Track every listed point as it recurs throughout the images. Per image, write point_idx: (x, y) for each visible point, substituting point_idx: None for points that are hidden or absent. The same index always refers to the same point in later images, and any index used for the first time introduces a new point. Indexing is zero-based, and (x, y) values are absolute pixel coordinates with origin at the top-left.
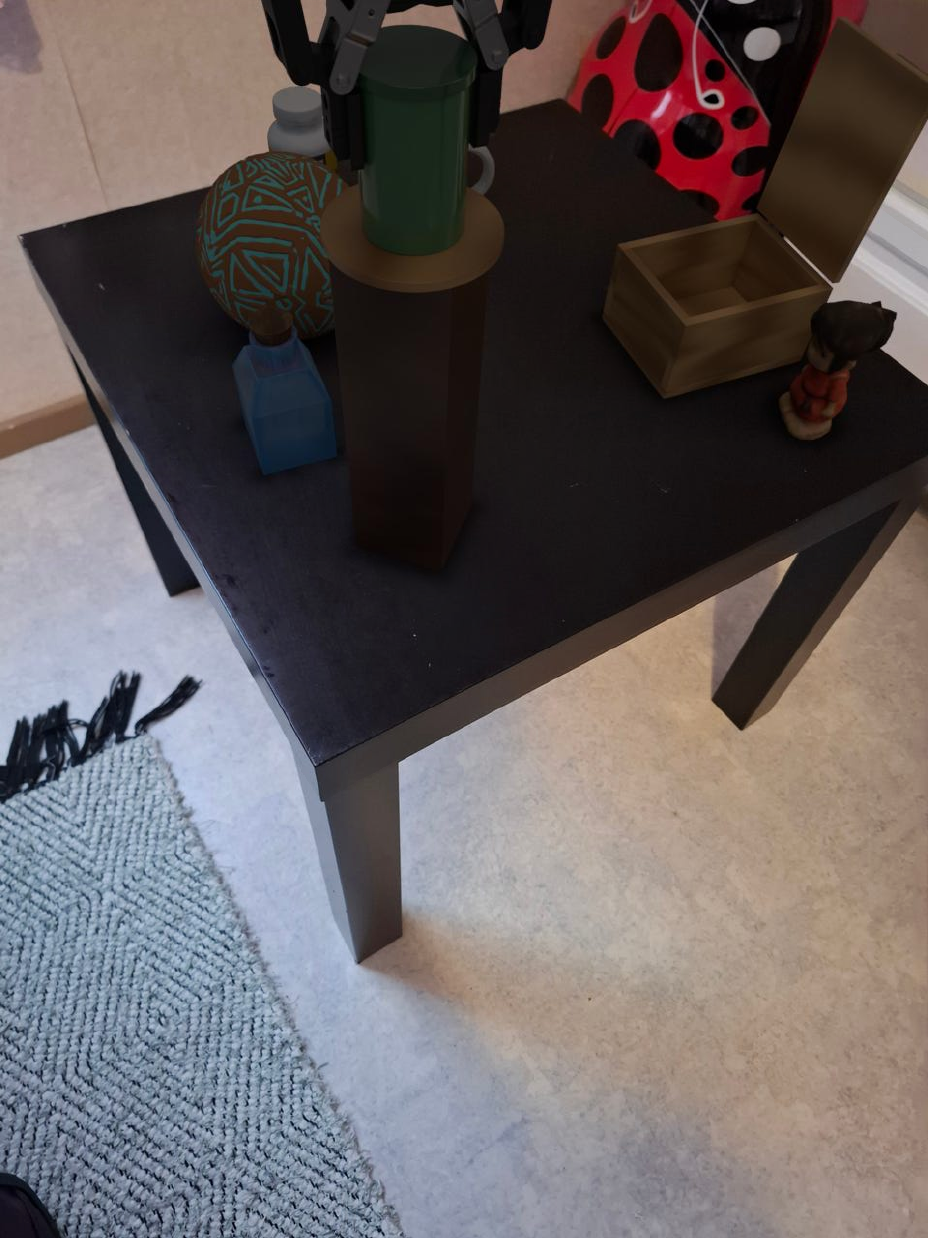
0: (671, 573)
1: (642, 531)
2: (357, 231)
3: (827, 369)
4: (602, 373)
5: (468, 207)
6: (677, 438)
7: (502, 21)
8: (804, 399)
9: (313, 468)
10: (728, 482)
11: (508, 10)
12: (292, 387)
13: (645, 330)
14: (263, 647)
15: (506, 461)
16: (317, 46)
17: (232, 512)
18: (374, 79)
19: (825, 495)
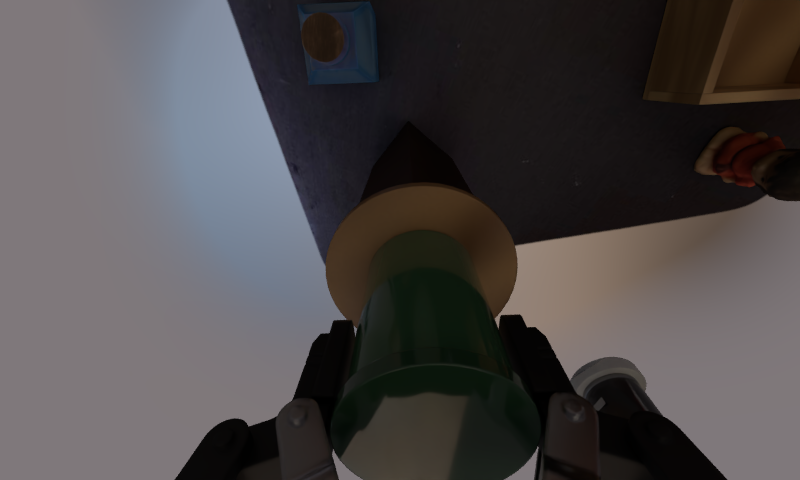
0: (538, 239)
1: (542, 208)
2: (363, 273)
3: (754, 181)
4: (620, 50)
5: (489, 265)
6: (619, 142)
7: (608, 471)
8: (725, 163)
9: (360, 87)
10: (619, 190)
11: (638, 468)
12: (342, 75)
13: (681, 45)
14: (310, 216)
15: (493, 125)
16: (273, 467)
17: (299, 113)
18: (357, 474)
19: (665, 217)
